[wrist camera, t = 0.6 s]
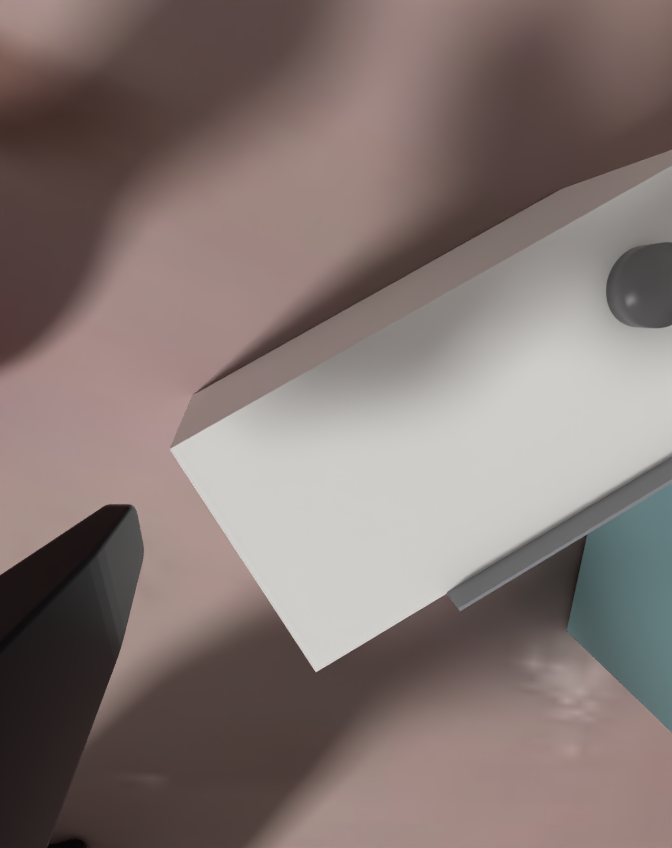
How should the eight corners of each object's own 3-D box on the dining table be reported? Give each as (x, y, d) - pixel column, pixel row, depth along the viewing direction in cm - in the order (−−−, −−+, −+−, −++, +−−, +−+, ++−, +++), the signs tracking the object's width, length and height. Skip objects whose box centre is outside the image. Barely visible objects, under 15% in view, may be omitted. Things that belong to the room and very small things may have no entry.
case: (291, 553, 22) (331, 715, 13) (192, 395, 20) (163, 463, 11) (655, 339, 23) (915, 360, 14) (595, 169, 21) (854, 72, 12)
